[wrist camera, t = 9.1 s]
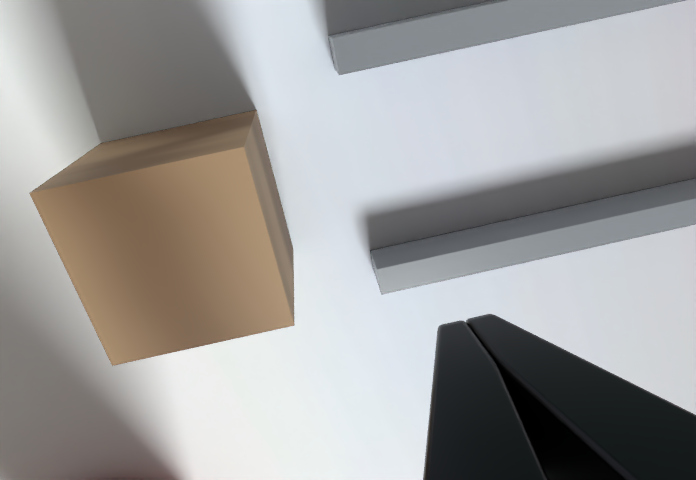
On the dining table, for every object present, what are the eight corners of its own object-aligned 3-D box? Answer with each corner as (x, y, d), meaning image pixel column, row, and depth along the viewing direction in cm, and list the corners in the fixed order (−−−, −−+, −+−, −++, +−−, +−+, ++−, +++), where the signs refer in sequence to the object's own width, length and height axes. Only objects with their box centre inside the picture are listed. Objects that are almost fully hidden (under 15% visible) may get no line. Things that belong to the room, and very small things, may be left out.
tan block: (256, 109, 16) (243, 146, 12) (293, 248, 18) (294, 325, 14) (102, 142, 16) (29, 193, 12) (156, 278, 18) (112, 365, 14)
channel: (1019, -112, 16) (1087, -124, 15) (941, 148, 20) (990, 158, 18) (328, 35, 16) (332, 38, 14) (374, 274, 19) (381, 294, 18)
